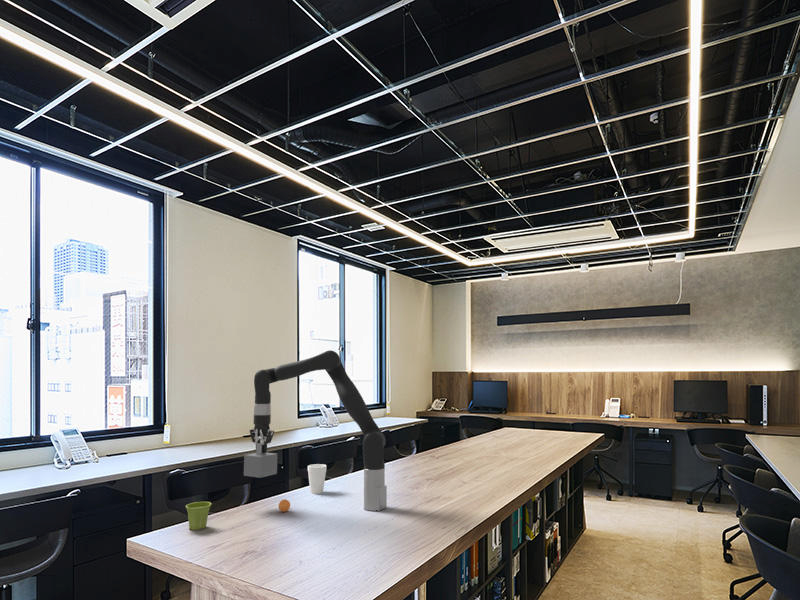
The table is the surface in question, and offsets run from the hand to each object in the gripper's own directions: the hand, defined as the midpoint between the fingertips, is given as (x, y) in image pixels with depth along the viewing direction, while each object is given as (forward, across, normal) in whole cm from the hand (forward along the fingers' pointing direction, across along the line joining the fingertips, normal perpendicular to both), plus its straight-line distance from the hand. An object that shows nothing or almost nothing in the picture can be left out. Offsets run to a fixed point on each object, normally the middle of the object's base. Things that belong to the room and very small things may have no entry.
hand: (261, 452), depth 228 cm
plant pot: (+24, 0, +32) cm, 40 cm away
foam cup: (+24, -3, -36) cm, 43 cm away
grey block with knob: (+10, 0, 0) cm, 10 cm away
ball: (+22, -13, -2) cm, 25 cm away
